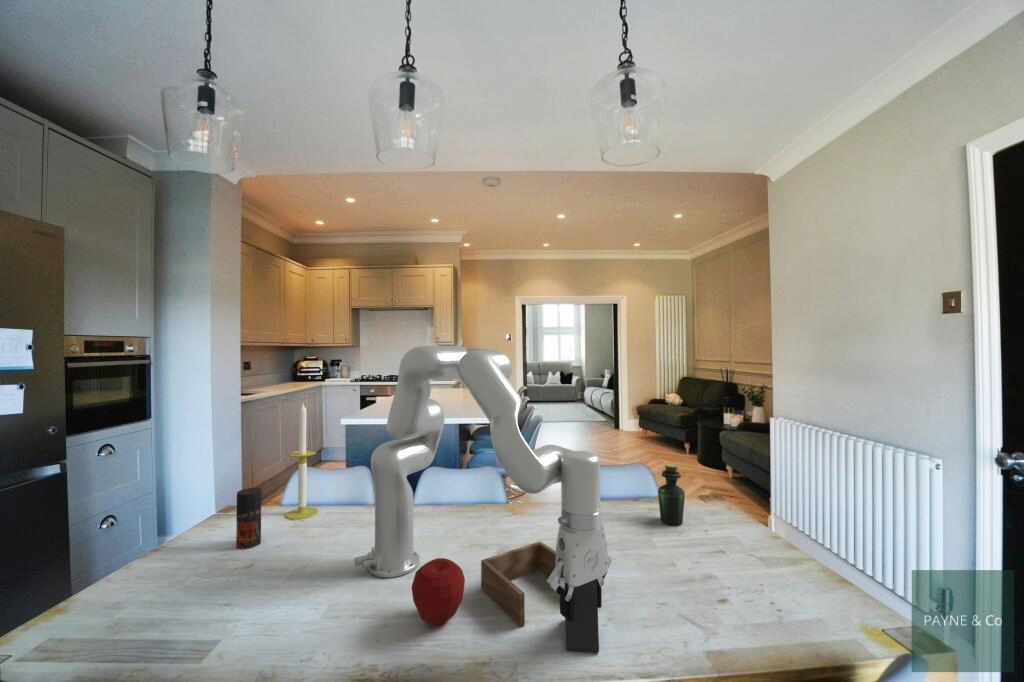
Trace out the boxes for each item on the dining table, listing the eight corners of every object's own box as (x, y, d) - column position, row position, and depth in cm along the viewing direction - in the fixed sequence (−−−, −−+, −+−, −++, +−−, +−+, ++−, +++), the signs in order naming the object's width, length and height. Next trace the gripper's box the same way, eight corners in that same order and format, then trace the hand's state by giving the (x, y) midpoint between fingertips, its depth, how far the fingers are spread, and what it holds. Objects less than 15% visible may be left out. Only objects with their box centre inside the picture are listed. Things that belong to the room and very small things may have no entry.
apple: (416, 603, 90) (416, 549, 90) (466, 601, 90) (466, 547, 91) (406, 638, 79) (407, 576, 79) (463, 636, 79) (463, 575, 80)
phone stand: (599, 653, 75) (598, 586, 75) (565, 650, 75) (565, 584, 76) (594, 620, 84) (594, 561, 84) (564, 618, 84) (564, 559, 85)
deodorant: (231, 547, 116) (231, 493, 116) (251, 538, 121) (252, 486, 121) (245, 550, 113) (246, 496, 114) (265, 541, 119) (266, 489, 119)
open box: (520, 627, 82) (520, 594, 82) (481, 588, 95) (481, 560, 95) (583, 598, 91) (583, 569, 91) (539, 567, 105) (539, 541, 105)
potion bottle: (659, 526, 129) (659, 468, 129) (656, 515, 136) (656, 461, 137) (687, 528, 127) (687, 469, 127) (682, 517, 135) (682, 462, 135)
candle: (290, 509, 143) (290, 400, 143) (321, 506, 145) (322, 399, 146) (281, 520, 133) (282, 404, 134) (315, 517, 135) (315, 403, 136)
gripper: (558, 536, 72) (558, 639, 72) (626, 514, 82) (626, 605, 81) (533, 520, 78) (533, 616, 78) (598, 502, 88) (599, 587, 88)
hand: (581, 609), depth 80 cm, fingers closed on phone stand, 6 cm apart
